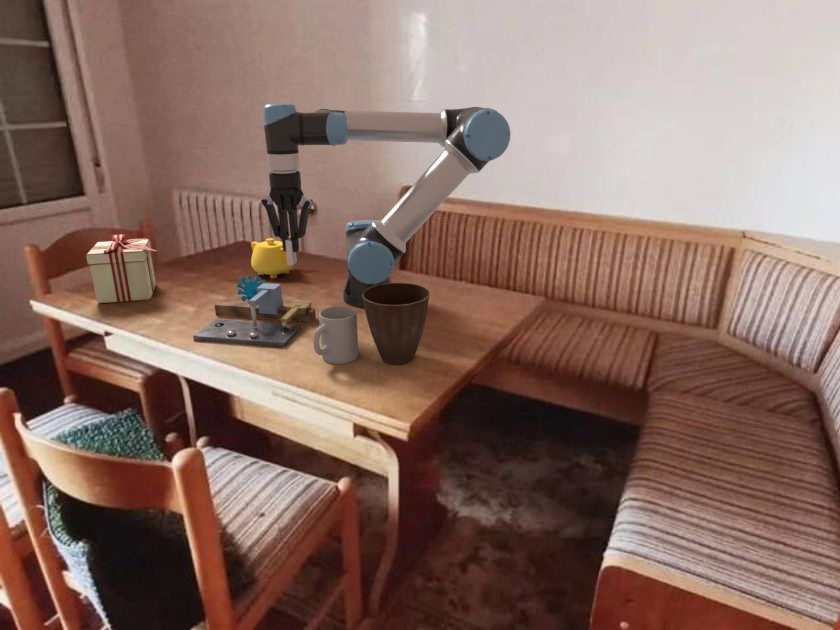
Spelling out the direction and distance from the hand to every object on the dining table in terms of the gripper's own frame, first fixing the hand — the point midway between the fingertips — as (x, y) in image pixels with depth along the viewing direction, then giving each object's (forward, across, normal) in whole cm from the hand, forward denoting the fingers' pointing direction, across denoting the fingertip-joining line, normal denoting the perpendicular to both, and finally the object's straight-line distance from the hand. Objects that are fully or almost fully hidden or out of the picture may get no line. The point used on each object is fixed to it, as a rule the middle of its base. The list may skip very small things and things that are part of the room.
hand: (292, 263), depth 151 cm
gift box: (+16, +57, -11) cm, 60 cm away
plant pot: (+16, -32, +18) cm, 40 cm away
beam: (+16, +9, 0) cm, 18 cm away
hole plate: (+16, +8, +12) cm, 21 cm away
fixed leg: (+14, -1, +4) cm, 15 cm away
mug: (+16, -18, +21) cm, 32 cm away
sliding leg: (+14, +7, +4) cm, 16 cm away
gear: (+16, +16, -10) cm, 25 cm away
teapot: (+16, +22, -38) cm, 47 cm away
